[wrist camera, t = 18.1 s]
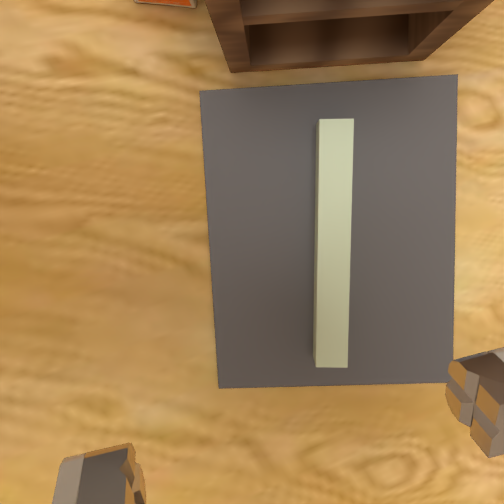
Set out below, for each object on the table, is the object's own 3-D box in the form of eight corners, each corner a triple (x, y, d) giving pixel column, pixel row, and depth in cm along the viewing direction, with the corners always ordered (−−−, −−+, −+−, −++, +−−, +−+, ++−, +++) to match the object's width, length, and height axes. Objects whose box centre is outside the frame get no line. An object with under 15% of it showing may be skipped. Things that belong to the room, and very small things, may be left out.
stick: (313, 355, 44) (315, 367, 41) (316, 124, 41) (319, 119, 38) (342, 355, 44) (347, 367, 41) (348, 123, 41) (353, 118, 38)
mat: (219, 386, 46) (218, 388, 45) (200, 91, 42) (199, 90, 41) (450, 380, 45) (452, 382, 44) (455, 75, 40) (457, 74, 40)
